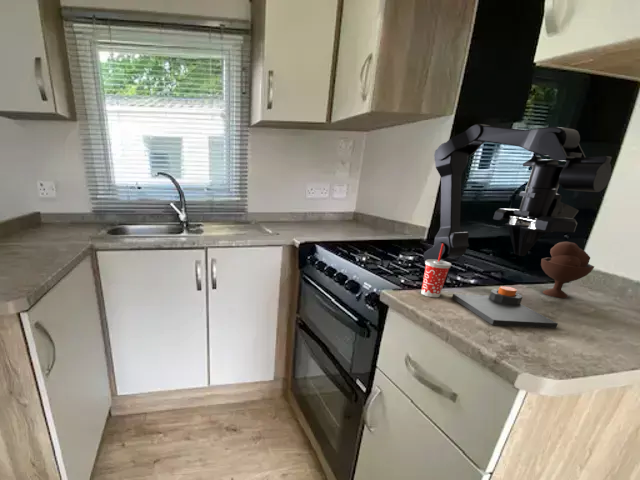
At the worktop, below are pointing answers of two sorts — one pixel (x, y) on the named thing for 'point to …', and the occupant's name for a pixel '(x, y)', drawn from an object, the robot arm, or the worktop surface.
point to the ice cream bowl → (565, 266)
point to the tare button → (507, 291)
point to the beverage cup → (435, 276)
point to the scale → (503, 310)
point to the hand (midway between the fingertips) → (519, 255)
